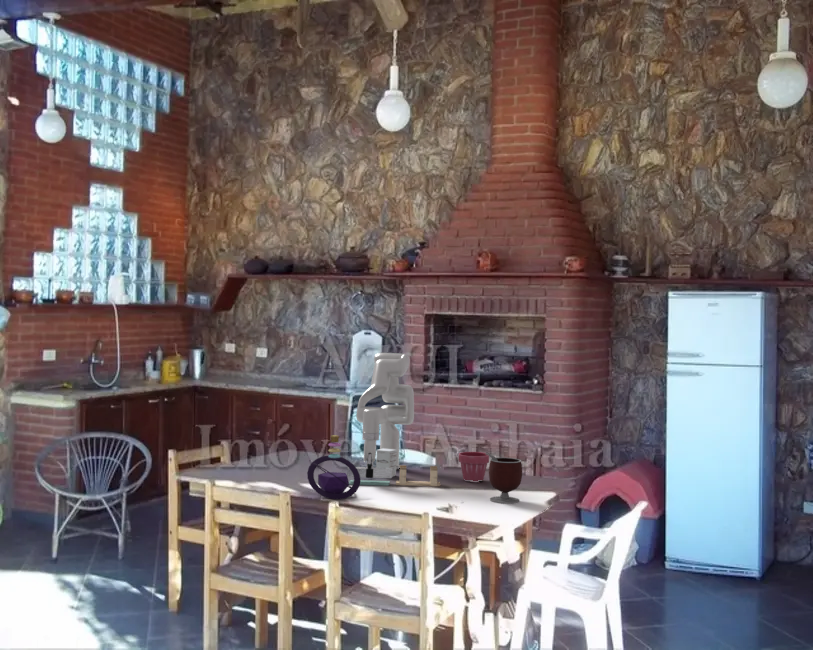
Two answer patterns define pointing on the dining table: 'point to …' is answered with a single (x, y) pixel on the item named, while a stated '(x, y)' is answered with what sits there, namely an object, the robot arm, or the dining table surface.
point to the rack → (418, 483)
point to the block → (376, 472)
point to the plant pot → (473, 465)
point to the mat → (371, 482)
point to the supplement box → (387, 459)
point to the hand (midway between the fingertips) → (369, 476)
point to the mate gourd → (505, 478)
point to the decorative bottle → (333, 475)
